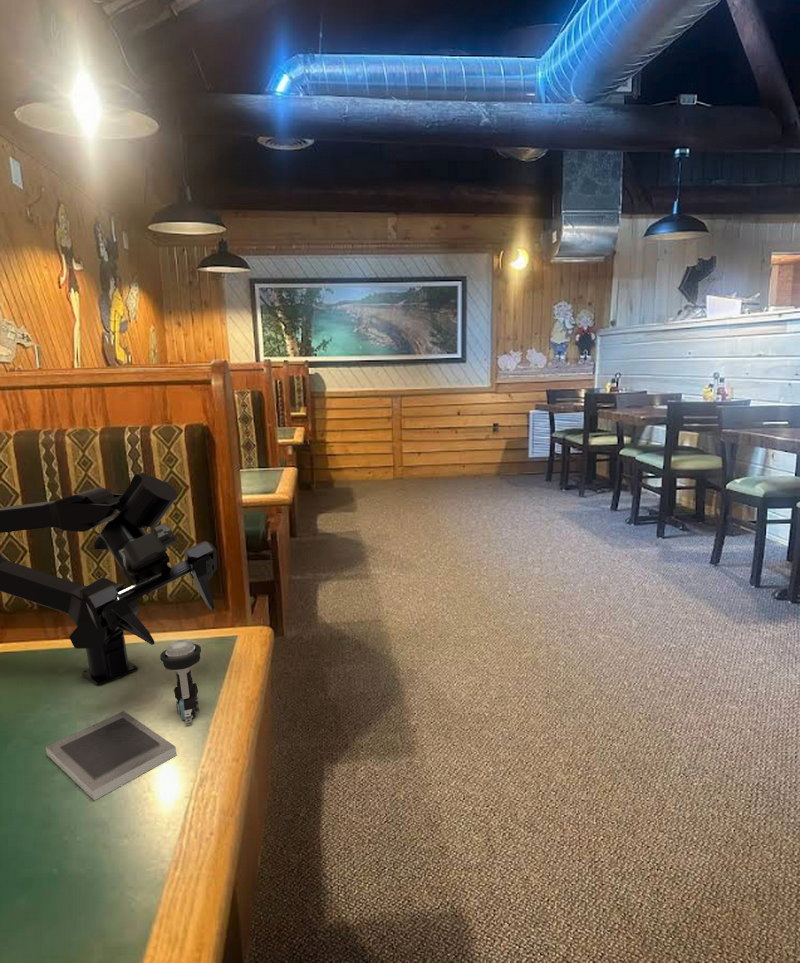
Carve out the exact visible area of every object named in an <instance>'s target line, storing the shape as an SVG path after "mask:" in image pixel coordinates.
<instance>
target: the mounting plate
mask: <svg viewBox="0 0 800 963" xmlns="http://www.w3.org/2000/svg"><path fill="white" fill-rule="evenodd" d="M45 750H46V755H47V757H49V759H50V760H51V761H53V762H54V764H55V765H57V766H58V767H59V768H60V769H61V770H62V771H63V773H65V774H66V775H67V776H68V777H69V778H70V779H71V780H72V781H73V782H74V783H75V784H76V785H77V786H78V787H80V789H82V791H83V792H84V793H86V795H88V796H89V798H91V799H92V800H93V801H97V800H98V799H100V798H102V797H104V796H106V795H107V794H109V793H111V792H113V791H114V790H116V789H118V788H120V787H121V786H123V785H126V784H127V783H129V782H131V781H133V780H134V779H136V778H138V777H139V776H142V775H144V774H145V773H147V772H149V771H151V770H152V769H154V768H157V767H158V766H160V765H161V764H163V763H165V762H167V761H169V760H170V759H172V758H174V757H176V756H177V748H176V746H175V745H174V744H173V743H171V742H170V741H168V740H166V739H165V738H164V737H162V736H161V735H159V734H158V733H157V732H155V730H152V728H149V727H148V726H146V725H145V724H143V723H142V722H141V721H140V720H138V719H136V718H135V717H133V716H132V715H131V714H129V713H127V712H126V711H125V710H123V711H120V712H118V713H115V714H113V715H111V716H109V717H108V718H105V719H103V720H100V721H99V722H97V723H94V724H92V725H90V726H88V727H86V728H84V729H81V730H79V731H76V732H75V733H73V734H71V735H68V736H66V737H64V738H62V739H60V740H57V741H55V742H53V743H51V744H49V745H47V746H45Z"/></svg>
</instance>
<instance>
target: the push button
mask: <svg viewBox="0 0 800 963" xmlns="http://www.w3.org/2000/svg"><path fill="white" fill-rule="evenodd" d="M201 653H202V646H200V645H199V644H196V643H194V641H193V640H190V639H179V640H176V641H172V642H170V643H169V644H168V645H166V647H165V650H163V651H162V652H161V654H160V656H159V657H160V658H159V659H160V661H161V662H162V666H163V667H164V668H165V669H166V670H167V671H168V670H169V671H172V672H176V673H175V675H176V686H175V688H174V689H173V694H174V698H175V699H176V702H175V708H176V709H175V710H176V715H179V708H180V714H181V715H180V716H181V721H185V724H190V723H192V720H193V719H195V718H196V711H197V712H198V710H201V706H200V698H199V696H198V693H199V691H198V684H197V683H196V682H193V676H192V670H191V668H193V667H194V666H195V665H197V663H199V662H200V660H201ZM197 705H198V706H197ZM178 707H179V708H178ZM197 707H198V708H197Z"/></svg>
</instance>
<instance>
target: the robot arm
mask: <svg viewBox="0 0 800 963" xmlns="http://www.w3.org/2000/svg"><path fill="white" fill-rule="evenodd" d="M177 498H178V492H177V490H176V489H175V488H174V487H173V486H172V485H171V484H170V483H169V482H167V481H164V480H161V479H159V478H157V477H154V476H149V475H147V474H146V473H145V472H144V471H142V472H139V473H136V474H134V476H133V477H132V479H131V480H130V484H129V486H128V487H127V489H125V491H124V493H111V491H109V490H108V488H105V487H95V488H92V489H88V490H85V491H82V492H78V493H76V494H72V495H69V496H67V497H63V498H61V499H57V500H51V501H41V502H33V503H27V504H17V505H12V506H11V505H10V506H1V507H0V534H1V533H2V534H3V533H4V534H5V533H11V532H12V533H13V532H19V531H25V530H26V531H28V530H36V529H45V528H46V529H47V528H49V529H51V528H53V529H57V530H60V531H65V532H79V533H81V532H82V533H83V532H88V531H89V530H92V529H95V528H96V527H99V526H102V525H104V527H103V528H102V530H101V531H100V532H98V533H97V535H96V536H97V537H96V539H95V541H94V543H93V550H95V551H97V550H98V551H109V552H110V554H111V555H112V556H113V558H114V559H115V561H116V562H117V564H118V566H119V568H120V569H121V570H122V572H123V573H124V575H125V577H126V578H127V579H128V581H129V583H130V584H131V585H130V586H129V587H126V586H127V585H126V583H118V582H114V581H113V580H111V579H109V578H106V577H100V578H98V579H97V580H96V581H93V582H92V583H90V584H88V585H84V584H81V583H79V582H78V583H77V582H75V581H71V580H68V579H65V578H62V577H59V576H56V575H52V574H50V573H48V572H47V573H46V572H44V571H40V570H37V569H35V568H32V567H28V566H26V565H23V564H20V563H16V562H13V561H10V560H7V559H5V557H4V555H2V553H1V552H0V592H1V593H4V594H7V595H9V596H13V597H16V598H19V599H22V600H25V601H28V602H32V603H35V604H37V605H41V606H42V607H47V608H49V609H53V610H55V611H59V612H61V613H64V614H67V615H68V616H69V618H71V620H72V621H73V623H74V624H75V625H76V628H75V629H74V630H73V631H72V632H71V634H70V635H69V636H68V639H69V640H70V641H71V644H72V646H73V648H74V649H78V650H79V649H81V650H82V649H85V652H86V658H87V664H88V668H87V669H85V670H83V671H81V675H82V676H83V677H85V678H86V679H88V680H89V681H90V682H92V683H93V684H95V685H96V686H101V685H103V684H106V683H108V682H111V681H113V680H115V679H118V678H120V677H122V676H125V675H127V674H131V673H132V672H135V671H137V670H138V668H139V667H138V665H137V664H135V663H133V662H131V661H130V660H129V659H128V658H129V657H128V652H127V651H128V650H127V644H126V640H125V633H124V632H128V633H130V634H132V635H135V636H136V637H137V638H140V639H141V640H143V642H146V643H148V644H149V645H151V646H153V645H155V644H156V642H155V639H154V638H153V636H152V634H151V633H150V631H149V630H148V629H147V627H146V626H145V625H144V623H142V621H141V620H140V619H139V618H138V616H137V615H138V613H139V611H140V610H139V608H140V607H139V606H140V605H139V601H138V599H140V598H141V597H144V596H146V595H147V594H150V593H152V592H154V591H156V590H158V589H161V588H162V587H165V586H166V585H168V584H170V583H172V582H175V581H176V580H178V579H180V578H183V577H184V576H186V575H189V576H190V577H191V579H193V585H194V586H195V588H196V590H197V591H198V593H199V595H200V596H201V598H202V600H203V602H204V603H205V605H206V606H207V608H208V609H209V610H210V611H211V612H215V610H216V607H215V604H214V600H213V599H214V598H213V596H212V592H211V588H210V583H209V580H210V579H212V578H213V574H214V573H215V572H216V571H217V570H218V556H217V555H218V554H217V553H218V552H217V549H216V547H214V544H212V543H211V542H210V541H209V542H208V541H207V540H206V541H205V540H203V541H202V542H199V543H197V544H195V545H193V546H191V547H189V548H187V549H185V550H184V551H183V553H184V560H183V561H180V562H179V563H177V564H175V565H173V566H171V567H170V565H169V564H168V563H170V562H171V559H170V556H169V554H168V553H167V552H168V548H169V547H171V546H173V545H175V543H176V540H177V538H176V536H175V534H174V532H173V531H172V529H171V528H170V526H169V525H168V524H167V523H166V522H164V523H162V524H159V523H160V522H161V520H162V519H163V518H164V516H165V515H166V513H167V512H168V511H169V510H170V508H171V507H172V505H173V504H175V501H176V500H177ZM117 514H118V515H117ZM116 515H117V516H116ZM158 524H159V525H158ZM145 528H153V531H151V532H149V533H147V532H146V530H145Z"/></svg>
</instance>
